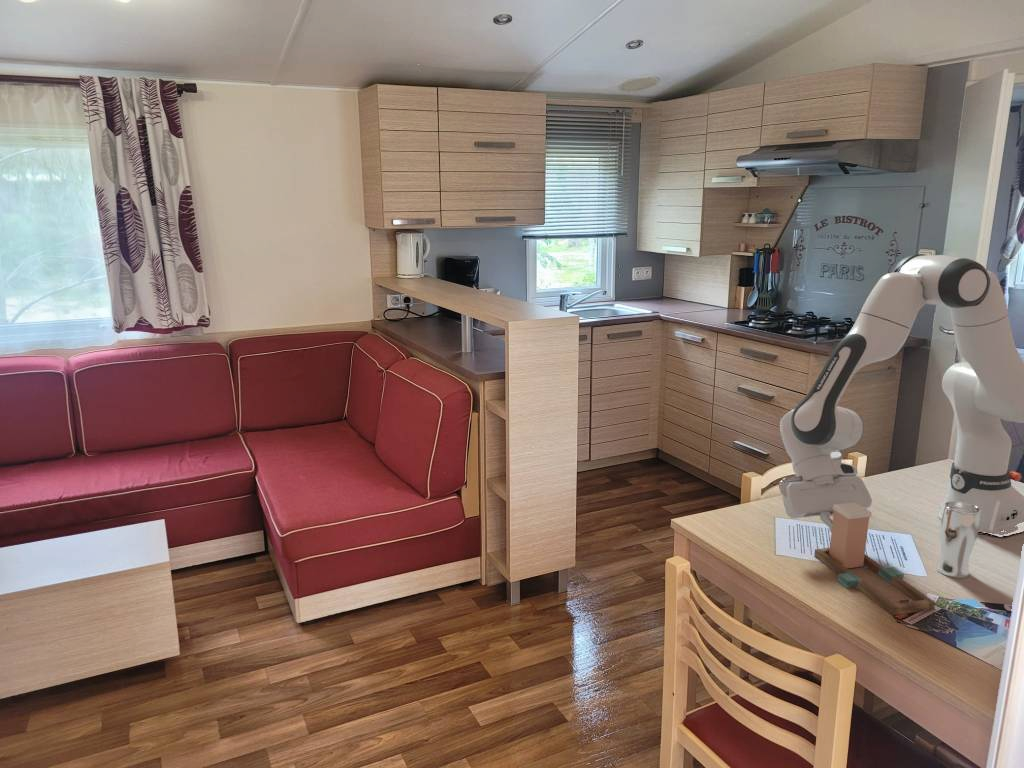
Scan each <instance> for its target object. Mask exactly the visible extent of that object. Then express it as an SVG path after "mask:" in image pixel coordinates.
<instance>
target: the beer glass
mask: <svg viewBox="0 0 1024 768" xmlns="http://www.w3.org/2000/svg"><path fill="white" fill-rule="evenodd" d="M980 511H981V510H980V508H979V507H977V506H975V505H973V504H970V503H966V502H961V501H948V502H946V503H945V506H944V510H943V514H942V518H941V519H940V526H939V527H940V529H939V533H940V534H939V536H940V554H939V559H938V561H937V562H936V566H935V567H936V570H937V571H938V572H939V574H942V575H944V576H947V577H951V578H954V579H964V578H967V577H968V576H969V575H970V570H969V561H970V557H971V553H972V551H973V549H974V546H975V543H976V541H977V538H978V534H979V533H978V531H979V524H980Z"/></svg>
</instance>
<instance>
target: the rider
mask: <svg viewBox="0 0 1024 768" xmlns="http://www.w3.org/2000/svg"><path fill="white" fill-rule="evenodd" d="M833 509H834V514H832V520H833V524H832V532H830V544H829V548H830V550H829V556H830V557H831V558H833V559H834V560H836V561H837V562H838V563H840V564H841V565H842V566H844V567H845V568H846V569H852V568H861V567H864V564H863V563H864V555H865V554H866V545H867V538H868V532H869V531H868V529H869V522H870V517H871V518H872V511H870V510H868V508H867V509H865V508H863V507H862V506H860V505H858V504H857V503H855V502H854V503H845V504H835V505H833Z"/></svg>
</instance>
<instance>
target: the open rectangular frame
mask: <svg viewBox="0 0 1024 768" xmlns="http://www.w3.org/2000/svg"><path fill="white" fill-rule="evenodd" d="M829 550H830V547H823V548H817V549H815V548H814V554H813V555H815V556H816V557H817V558H816V557H815V556H814V557H815V558H816V559H817V560H819V559H820V560H821V561H820V560H819V561H820V562H822V563H823V564H824V565H826V566H827V567H828V568H829V569H831V570H832V571H833V572H835V573H836V574H837V582H838V583H839V584H841V586H843V587H845V589H850V588H856V589H857V590H859V592H861V593H863V594H864V595H865V596H866V597H868V598H869V599H870V600H872V601H873V602H874V603H875V604H877V605H878V606H880V607H881V608H882V609H884V611H886V612H887V613H889V614H890V615H892V616H897V615H905V614H912V613H919V611H920V612H926V611H925V610H927V611H932V610H935V605H936V602H935V601H934V600H933V599H931V598H930V597H928V595H925V594H924V593H922V592H921V591H920V590H918V589H917V588H915V587H914V586H912V585H911V584H910V583H908V582H906V581H905V580H904V579H903V578H904V573H903V572H902V571H900V570H898V569H897V568H896V567H893V566H891V567H885V566H883V565H882V564H880V563H879V562H877V561H875V560H874V559H873V558H872V557H870V556H869V555H867V554H866V553H865V555H864V563H863V566H865V567H867V568H868V569H870V570H871V571H873V572H874V573H875V574H876V575H878V576H880V577H881V578H882V579H883V580H884V581H887V582H888V583H890V584H891V585H892V586H893V587H896V588H897V589H898V590H900V592H902V593H903V594H905V595H906V596H908V597H909V598H911V599H912V600H913V601H907V602H900V603H894V602H893V601H891V600H890V599H888V598H887V597H886V596H884V595H883V594H882V593H880V592H879V591H878V590H877V589H875V588H873V587H872V586H871V585H869V584H868V583H867V582H865V581H864V580H863V579H862V578H860V577H858V575H856V574H855V573H853V572H852V571H850V570H849V568H845V567H844V566H842V565H841V564H840V563H838V562H837V561H836V560H834V559H833V558H831V557H830V556H829Z"/></svg>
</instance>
